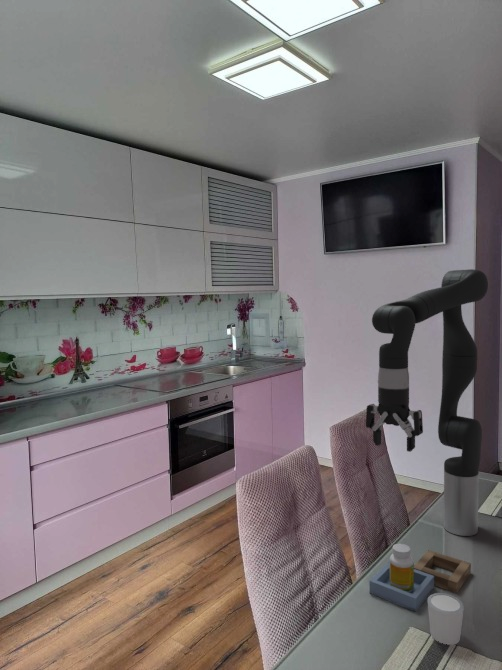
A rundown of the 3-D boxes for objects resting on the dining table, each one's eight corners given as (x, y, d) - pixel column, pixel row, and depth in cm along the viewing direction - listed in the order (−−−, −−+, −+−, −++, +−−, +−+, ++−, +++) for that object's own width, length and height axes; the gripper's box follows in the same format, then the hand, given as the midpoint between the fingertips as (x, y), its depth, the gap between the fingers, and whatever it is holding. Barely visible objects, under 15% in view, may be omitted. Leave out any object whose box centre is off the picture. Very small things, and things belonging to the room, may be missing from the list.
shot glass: (460, 651, 96) (460, 617, 96) (423, 639, 100) (423, 606, 99) (465, 631, 102) (466, 598, 101) (431, 620, 106) (431, 588, 105)
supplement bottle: (415, 595, 113) (415, 554, 112) (391, 593, 114) (390, 553, 113) (411, 581, 118) (411, 542, 118) (388, 580, 119) (388, 541, 118)
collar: (428, 559, 129) (428, 549, 129) (470, 572, 123) (470, 563, 122) (412, 577, 121) (412, 567, 121) (456, 593, 115) (456, 582, 114)
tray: (390, 572, 124) (390, 560, 124) (434, 588, 117) (434, 576, 116) (369, 593, 115) (369, 580, 115) (415, 611, 108) (415, 598, 108)
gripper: (427, 385, 123) (426, 449, 125) (374, 380, 132) (374, 439, 134) (415, 390, 118) (415, 457, 119) (360, 384, 127) (361, 446, 128)
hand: (393, 447), depth 126 cm, fingers open, 8 cm apart
